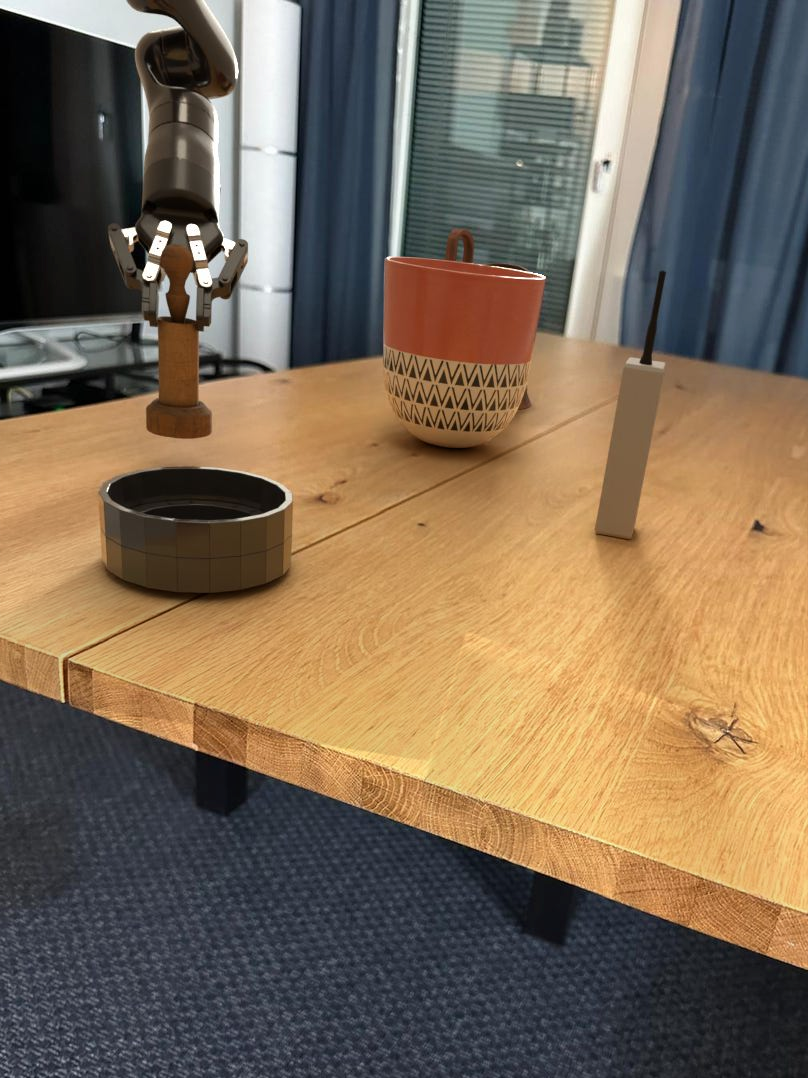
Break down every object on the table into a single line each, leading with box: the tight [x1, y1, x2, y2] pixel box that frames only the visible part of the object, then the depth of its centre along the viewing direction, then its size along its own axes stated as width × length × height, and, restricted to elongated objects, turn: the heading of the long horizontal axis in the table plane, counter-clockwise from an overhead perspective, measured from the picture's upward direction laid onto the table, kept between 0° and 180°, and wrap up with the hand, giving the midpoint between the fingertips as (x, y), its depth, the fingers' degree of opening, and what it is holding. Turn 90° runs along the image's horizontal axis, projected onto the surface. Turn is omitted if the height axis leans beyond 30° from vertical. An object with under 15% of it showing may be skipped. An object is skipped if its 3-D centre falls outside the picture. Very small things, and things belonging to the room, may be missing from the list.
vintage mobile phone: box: [594, 269, 667, 540], centre depth 89 cm, size 4×5×25 cm
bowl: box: [97, 465, 294, 594], centre depth 72 cm, size 14×14×6 cm
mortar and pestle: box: [145, 244, 213, 440], centre depth 93 cm, size 7×6×18 cm
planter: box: [382, 256, 547, 449], centre depth 116 cm, size 20×20×21 cm
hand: (176, 323), depth 90 cm, fingers closed on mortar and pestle, 3 cm apart
